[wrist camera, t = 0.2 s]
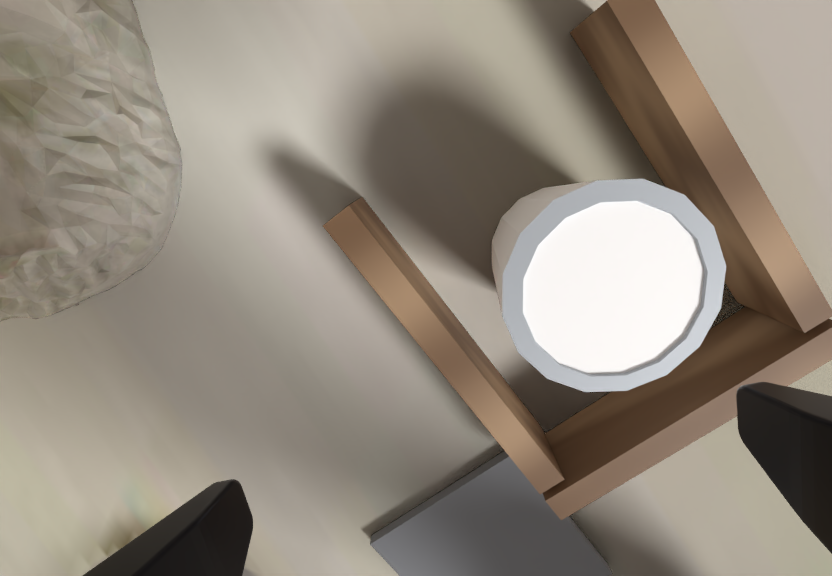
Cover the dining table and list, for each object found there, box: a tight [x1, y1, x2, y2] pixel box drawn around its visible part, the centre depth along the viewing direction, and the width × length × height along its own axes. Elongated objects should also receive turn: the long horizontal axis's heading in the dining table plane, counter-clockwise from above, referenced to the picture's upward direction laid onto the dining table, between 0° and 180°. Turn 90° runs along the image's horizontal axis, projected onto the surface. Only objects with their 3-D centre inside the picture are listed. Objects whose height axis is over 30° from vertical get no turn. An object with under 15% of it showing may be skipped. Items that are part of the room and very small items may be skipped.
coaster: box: [370, 451, 612, 576], centre depth 25 cm, size 9×9×1 cm
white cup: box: [492, 179, 726, 392], centre depth 18 cm, size 7×7×7 cm
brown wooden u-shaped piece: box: [323, 0, 832, 520], centre depth 20 cm, size 16×13×4 cm
